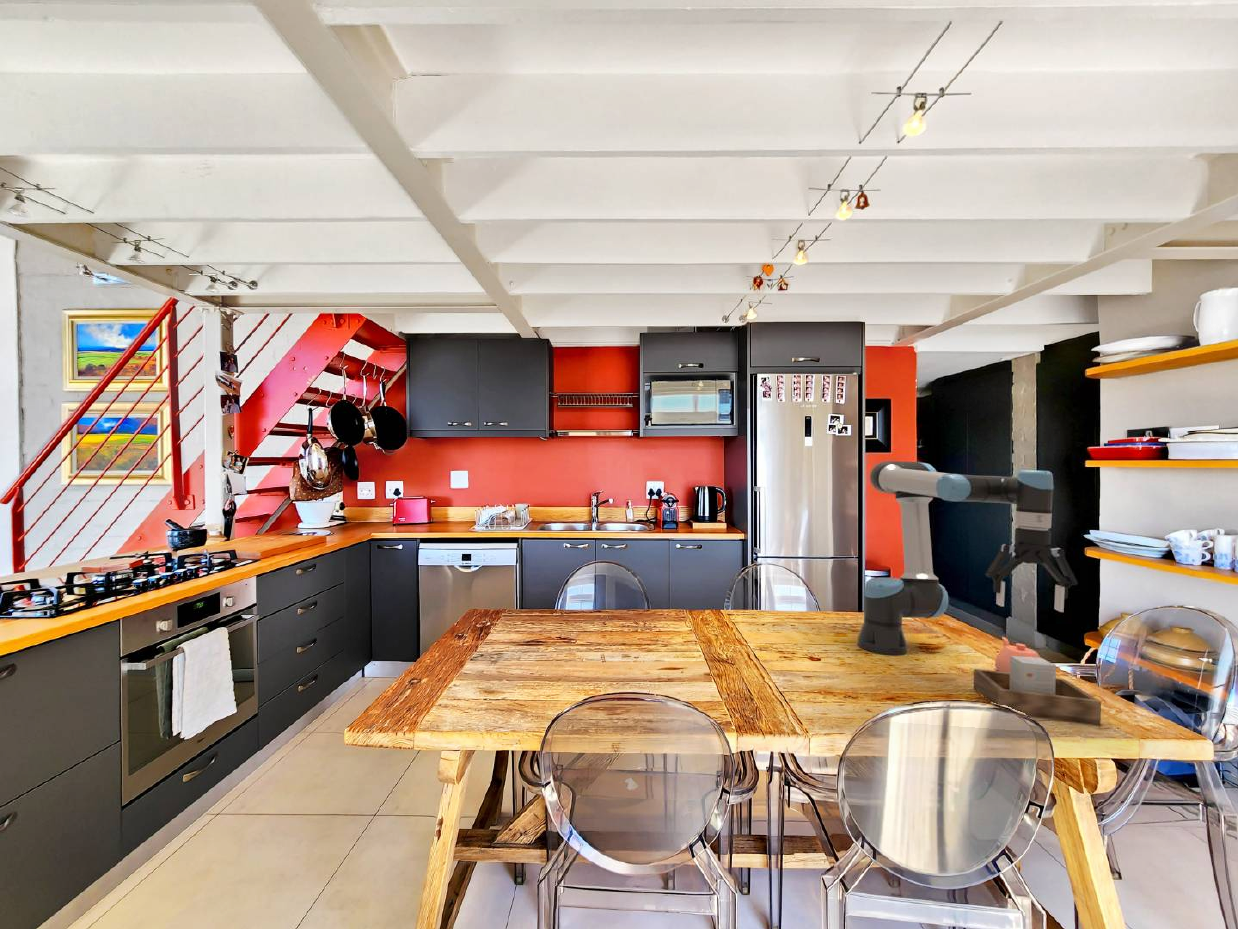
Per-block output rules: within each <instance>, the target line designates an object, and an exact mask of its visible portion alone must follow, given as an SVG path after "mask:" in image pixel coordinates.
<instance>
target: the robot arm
mask: <svg viewBox="0 0 1238 929" xmlns="http://www.w3.org/2000/svg"><path fill="white" fill-rule="evenodd" d="M869 481H870V484H871V486H872V487H873V488H874V489H875V490H876V491H878V492H880V493H885V494H890V495H891V494H892V495H893V494H894V496H895V497H894V498H895V501H896V502H897V503H899V505H900V516H901V532H902V533H901V534H902V535H901V536H902V550H903V562H904V563H903V564H904V565H903V568H904V573H903V574H902V575H900V577H899V578H896V577H875V578H870V579H867V581H866V582H865V585H864V586H865V587H864V592H863V593H864V606H863V609H864V610H863V623H862V626H861V629H860V632H859V634H858V635H857V646H858V647H860V648H861V649H863V650H865V651H868V652H872V653H876V654H881V655H889V656H890V655H891V656H901V655H905V654H907V653H908V644H907V640H906V637H905V634H904V630H903V625H902V624H903V618H904V619H906V618H909V619H910V618H911V619H913V618H915V619H916V618H917V619H919V618H923V619H933V618H939V617H941V616H943V614H944V613H945V612H946V611H947V609H948V606H949V595H948V591H947V590H946V588H945V586H943V585H942V584H940V582H939V578H938V577H937V575H935V573H934V568H933V556H932V540H931V539H932V538H931V528H930V515H929V514H930V512H929V503H930V502H931V501H933V499H934V498H940V499H942V500H943V501H947V502H956V503H958V502H971V503H972V502H976V503H995V504H999V503H1000V504H1010V505H1015V506H1016V508H1015V524H1014V525H1016V526H1017V527H1016V528H1015V530H1014V544H1013V545H1009V544H1006V543H1001V544H1000V547H999V552H998V553H997V555H996V556H995V558H994V560H993V562H991V564H990V566H989V567H988V569H987V570H986V573H985V576H986V577H987V578H990V579H992V580H993V584H992V591H993V593H996V595H995V596H996V598H995V602H996V603H995V605H998V606H999V607H1005V593H1006V590H1005V589H1006V582H1005V581H1003V580H1004V579H1005V578H1006V577H1007V576H1008V575H1009V574H1011V572H1013V571H1014V570H1015V569H1016V568H1017V567H1018V566H1020V565H1022V564H1023V563H1025V564H1035V565H1042V566H1043V567H1044V568H1045V569H1046V570H1047V572H1048V573H1049V574H1050V575H1051V576H1052V577H1053V579H1054V580H1055V581H1056V582H1057V583H1058V584H1055V587H1054V605H1053V606H1054V608H1053V609H1054V610H1056V611H1058V612H1059V613H1064V608H1065V600H1068V598H1069V589H1070V588H1072V586H1077V585H1078V583H1079V582H1078V580H1077V579H1076V576H1075V574H1074V572H1073V571H1072V568H1071V566H1070V565H1069V563H1068V561H1067V559H1066V554H1065V550H1064V549H1063V548H1060V547H1055V548H1051V537H1052V532H1051V530H1049V529H1051V528H1052V518H1053V517H1052V515H1053V512H1052V510H1053V494H1054V489H1055V488H1054V487H1055V486H1054V475H1053V473H1052V472H1051V471H1049V470H1032V469H1031V470H1028V469H1025V470H1024V469H1023V470H1022V469H1021V470H1019V471H1018V472H1017V476H1015V477H1013V476H999V475H972V474H959V473H949V472H947V473H946V472H939V471H937V470H936V468H934V467H933V466H932V465H931V464H930V463H926V462H920V461H899V460H898V461H897V460H896V461H895V460H885V461H882V462H880V463H877V464H876V465H874V466H873V468H872V469H871V471H870V474H869ZM1012 552H1013V553H1014V555H1013V557H1011V558H1010V560H1009V561H1008V562H1007V563H1005V561H1006V560H1007V559H1008V556H1009V554H1011V553H1012ZM1050 555H1052V556H1053V557H1054V559H1055V562H1056V563H1057V565H1058V566H1059V568H1060V571H1061V572H1062V574H1063V575H1062V574H1061V572H1060V571H1059V570H1058V569H1057V568H1056V566H1055V565H1054V564H1053V562H1052V561H1051V560H1050V559H1049V557H1050ZM1004 563H1005V564H1004ZM1003 564H1004V565H1003Z"/></svg>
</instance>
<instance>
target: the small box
mask: <svg viewBox="0 0 1238 929" xmlns="http://www.w3.org/2000/svg"><path fill="white" fill-rule="evenodd" d="M1056 671H1057V665H1055V663H1054V664H1053V663H1052V662H1050V661H1048V660H1046V659H1045V658H1043V657H1040V658H1033V657H1019V656H1010V689H1009V690H1016V691H1024V692H1033V693H1041V694H1050V695H1055V684H1056V678H1057V677H1056V676H1057V675H1056V674H1057V672H1056Z"/></svg>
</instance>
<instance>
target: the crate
mask: <svg viewBox="0 0 1238 929" xmlns="http://www.w3.org/2000/svg"><path fill="white" fill-rule="evenodd" d="M1009 689H1010V673H1008V672H999V671H998V670H997V671H996V670H988V669H978V668H973V690H974V691H975V692H977V693H978V694H979V693H980V694H982V695H983V696H984V698H986V699H985V700H986V701H987V702H988V701H989V702H993V703H996V704H999V705H1006V706H1008V707H1011V708H1012V709H1015V710H1017V711H1020V712H1023V713H1025V714H1026V715H1028V716H1027V717H1033V718H1034V717H1035V718H1041V719H1042V718H1043V719H1050V720H1057V721H1067V722H1073V723H1082V724H1089V725H1097V726H1101V723H1102V722H1101V720H1102V701H1100V700H1098V699H1097V698H1095V697H1094V696H1092V695H1091V694H1089V693H1087V692H1086V691H1084V690H1082V689H1081V688H1079V687H1078V686H1076V685H1074V684H1073V683H1072V682H1070V681H1068V680H1067V679H1065V678H1062V677H1061V678H1060V677H1056V684H1055V695H1050V694H1041V693H1033V692H1024V691H1016V690H1009ZM980 694H979V695H980ZM989 702H988V703H989Z"/></svg>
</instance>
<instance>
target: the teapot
mask: <svg viewBox="0 0 1238 929" xmlns="http://www.w3.org/2000/svg"><path fill="white" fill-rule="evenodd" d="M1001 638H1002V641H1003V648H1002V649H1001V650H1000V651H999V653H998V654H997V656H996V658H995V663H994V666H995V667H994V668H996V670H997V671H999V672H1008V673H1010V656H1019V657H1033V658H1041V656H1040V655H1039V653H1038V652H1037V651H1035V650H1034V649H1032V648H1028V647H1026V646H1027V645H1026V644H1023V643H1015V645H1011V644H1010V641H1009V640H1008V638H1006V637H1005V636H1001Z"/></svg>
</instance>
